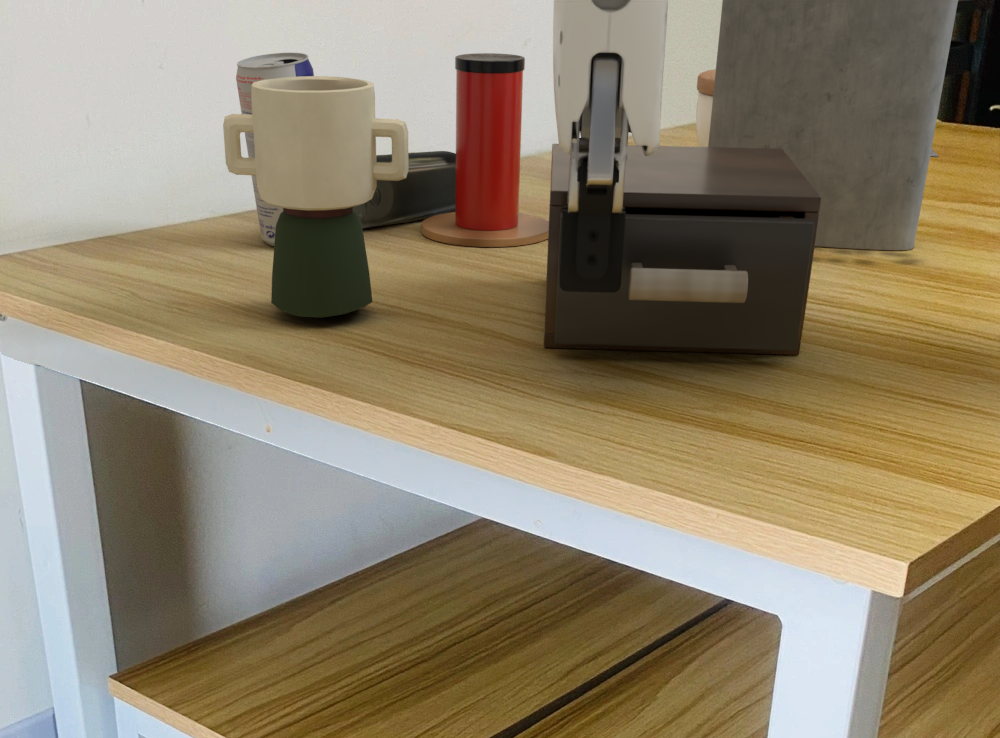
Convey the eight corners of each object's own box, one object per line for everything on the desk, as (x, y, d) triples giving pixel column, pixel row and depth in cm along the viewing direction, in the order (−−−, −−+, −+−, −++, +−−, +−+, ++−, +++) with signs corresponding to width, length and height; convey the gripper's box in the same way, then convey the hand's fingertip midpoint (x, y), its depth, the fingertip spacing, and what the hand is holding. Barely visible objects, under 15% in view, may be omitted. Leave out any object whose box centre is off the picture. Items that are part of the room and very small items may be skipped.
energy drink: (349, 233, 101) (327, 55, 94) (292, 252, 98) (265, 70, 91) (303, 222, 104) (279, 49, 97) (247, 241, 101) (218, 64, 94)
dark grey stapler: (443, 145, 110) (295, 161, 100) (469, 150, 108) (321, 167, 99) (441, 210, 112) (297, 232, 103) (467, 216, 110) (323, 239, 101)
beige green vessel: (419, 302, 87) (417, 78, 80) (399, 334, 81) (397, 94, 74) (251, 295, 88) (236, 73, 81) (220, 325, 82) (201, 88, 75)
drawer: (808, 375, 72) (828, 241, 69) (554, 367, 73) (560, 234, 69) (763, 284, 88) (778, 172, 85) (555, 279, 89) (561, 167, 85)
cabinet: (799, 355, 78) (821, 197, 74) (543, 347, 79) (550, 190, 74) (765, 286, 91) (782, 148, 87) (546, 280, 92) (552, 143, 88)
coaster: (552, 219, 108) (553, 212, 108) (551, 249, 100) (552, 240, 100) (426, 216, 109) (426, 208, 109) (415, 245, 100) (415, 236, 100)
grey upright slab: (914, 242, 103) (969, -64, 92) (912, 254, 100) (969, -62, 89) (703, 226, 107) (732, -69, 96) (694, 237, 104) (724, -67, 93)
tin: (520, 217, 106) (525, 53, 100) (518, 232, 102) (524, 61, 96) (456, 216, 106) (457, 52, 100) (451, 230, 102) (452, 60, 96)
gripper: (712, -117, 56) (670, 329, 66) (682, -118, 69) (651, 257, 79) (529, -119, 57) (515, 325, 66) (533, -120, 69) (520, 253, 79)
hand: (589, 287), depth 72 cm, fingers closed
